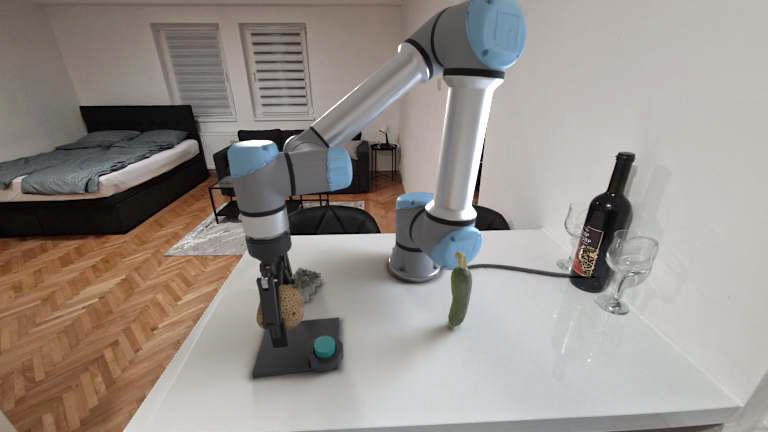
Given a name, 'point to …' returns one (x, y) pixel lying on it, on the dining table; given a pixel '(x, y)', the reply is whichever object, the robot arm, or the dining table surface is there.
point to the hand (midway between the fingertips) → (285, 327)
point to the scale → (299, 350)
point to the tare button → (324, 347)
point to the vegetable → (460, 291)
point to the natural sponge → (287, 307)
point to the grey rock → (305, 282)
